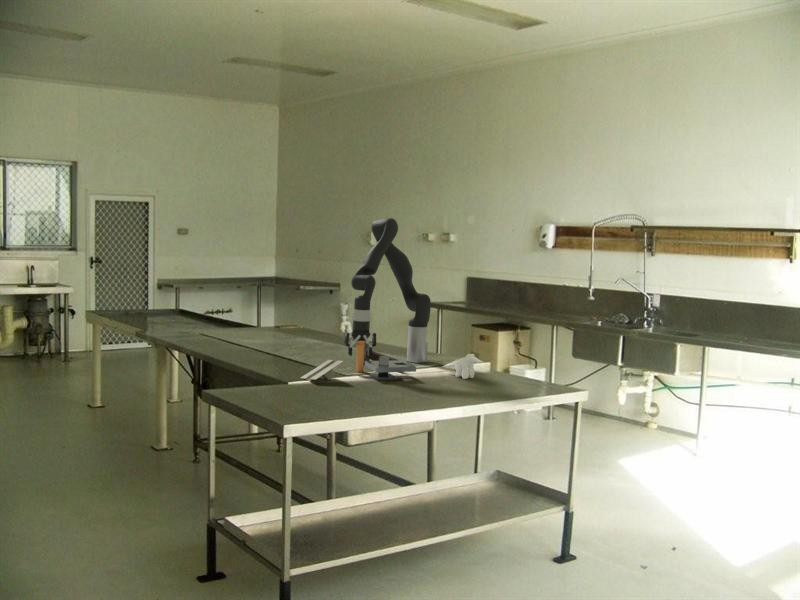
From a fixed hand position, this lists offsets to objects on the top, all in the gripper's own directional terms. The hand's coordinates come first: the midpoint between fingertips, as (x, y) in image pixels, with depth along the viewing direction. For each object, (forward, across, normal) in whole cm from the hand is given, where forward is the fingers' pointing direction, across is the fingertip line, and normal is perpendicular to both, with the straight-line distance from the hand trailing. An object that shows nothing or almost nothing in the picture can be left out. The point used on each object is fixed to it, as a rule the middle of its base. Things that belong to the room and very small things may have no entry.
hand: (359, 355), depth 375 cm
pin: (+7, 0, 0) cm, 7 cm away
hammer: (+7, -13, -10) cm, 18 cm away
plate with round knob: (+7, -9, +15) cm, 19 cm away
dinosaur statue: (+7, -42, +17) cm, 46 cm away
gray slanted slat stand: (+8, +22, +18) cm, 29 cm away
